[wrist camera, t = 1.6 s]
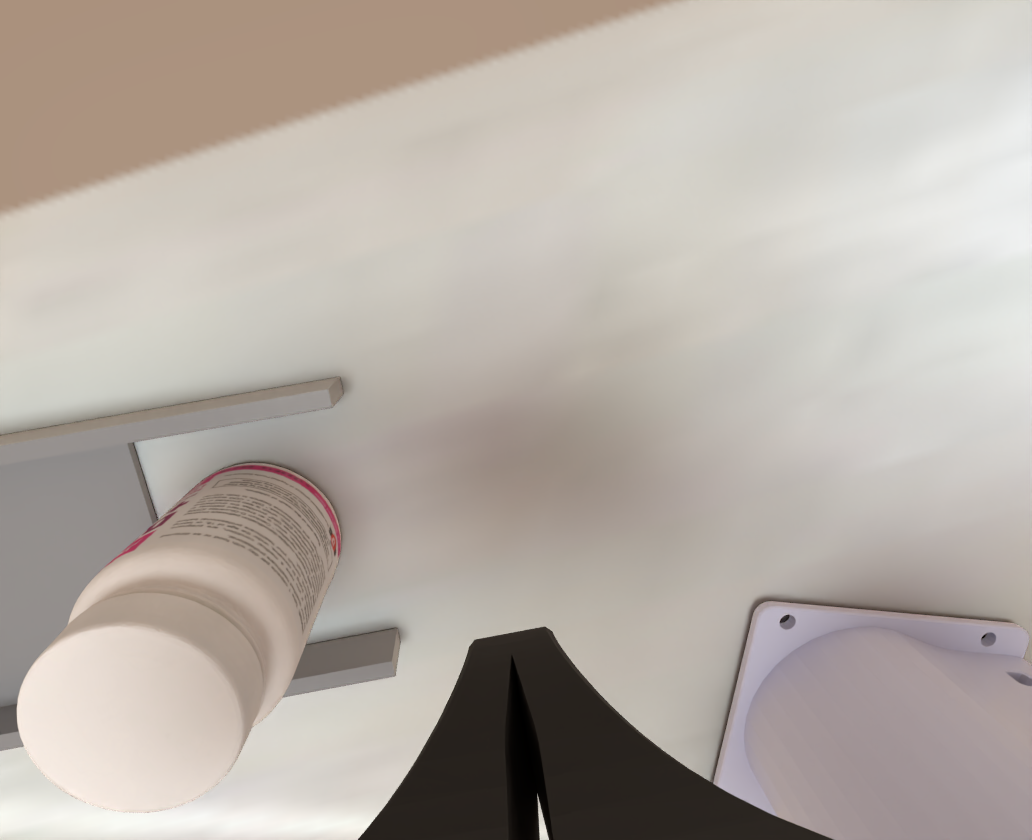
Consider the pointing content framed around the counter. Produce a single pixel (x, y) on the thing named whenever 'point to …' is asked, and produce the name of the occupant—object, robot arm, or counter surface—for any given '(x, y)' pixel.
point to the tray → (123, 530)
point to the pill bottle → (182, 643)
